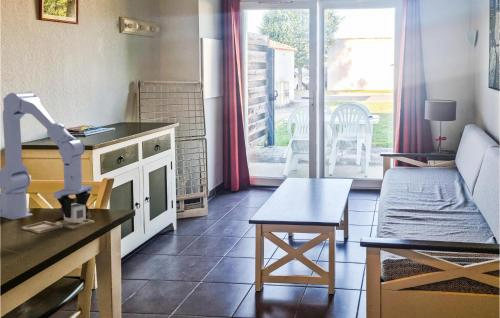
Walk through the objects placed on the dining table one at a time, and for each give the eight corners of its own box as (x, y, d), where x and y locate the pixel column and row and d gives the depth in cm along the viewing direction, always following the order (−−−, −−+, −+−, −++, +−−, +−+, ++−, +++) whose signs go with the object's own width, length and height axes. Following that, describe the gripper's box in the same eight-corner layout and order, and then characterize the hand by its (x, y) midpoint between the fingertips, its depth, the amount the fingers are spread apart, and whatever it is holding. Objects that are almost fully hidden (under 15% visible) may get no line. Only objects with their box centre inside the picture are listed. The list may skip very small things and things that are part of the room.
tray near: (21, 229, 204) (21, 226, 204) (45, 223, 211) (44, 221, 211) (39, 234, 199) (39, 231, 198) (62, 228, 206) (62, 225, 206)
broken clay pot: (89, 223, 215) (76, 204, 212) (66, 233, 217) (53, 214, 214) (98, 206, 226) (85, 188, 223) (76, 216, 228) (63, 198, 225)
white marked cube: (64, 220, 210) (63, 205, 209) (75, 217, 214) (75, 202, 213) (74, 222, 207) (73, 207, 206) (86, 219, 211) (85, 205, 210)
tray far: (55, 225, 210) (55, 222, 209) (76, 219, 217) (76, 216, 217) (73, 229, 204) (72, 226, 204) (94, 223, 212) (94, 220, 212)
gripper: (63, 180, 200) (64, 222, 202) (97, 173, 212) (99, 213, 214) (48, 178, 204) (50, 218, 206) (83, 171, 216) (85, 210, 218)
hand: (74, 215), depth 210 cm, fingers closed on white marked cube, 5 cm apart
